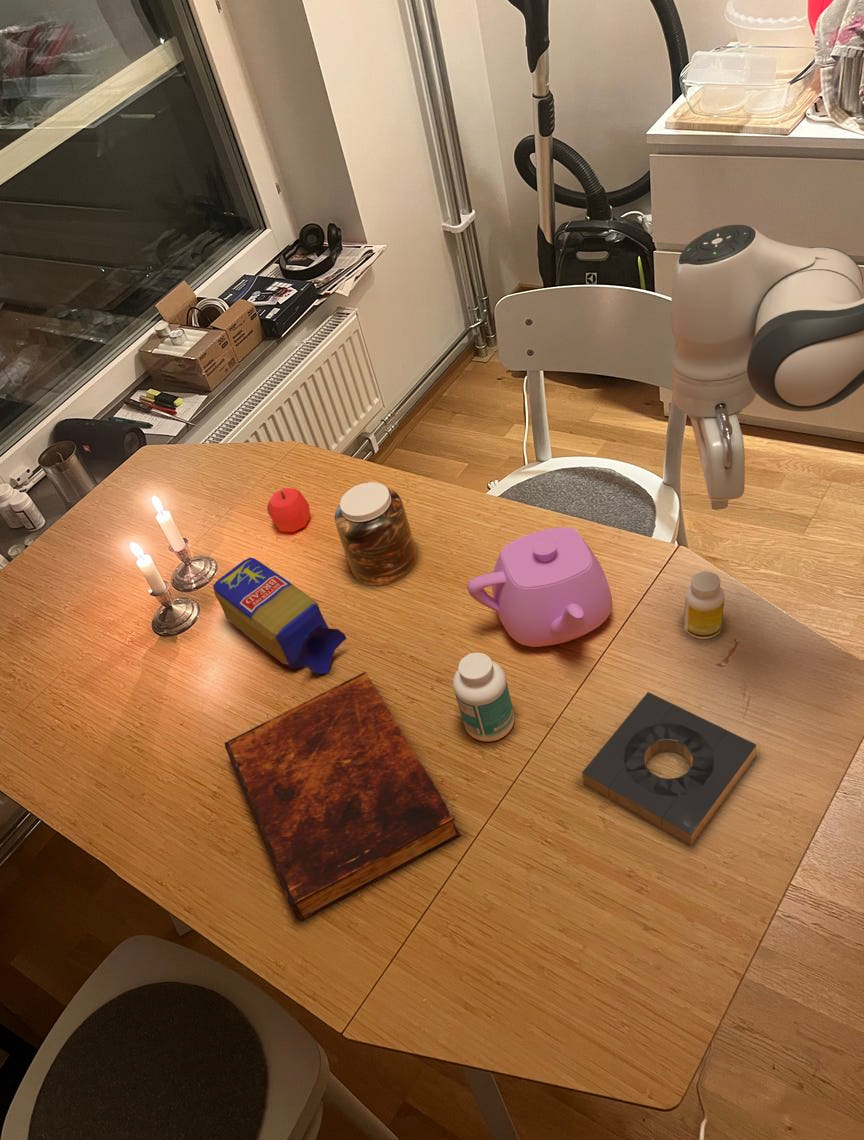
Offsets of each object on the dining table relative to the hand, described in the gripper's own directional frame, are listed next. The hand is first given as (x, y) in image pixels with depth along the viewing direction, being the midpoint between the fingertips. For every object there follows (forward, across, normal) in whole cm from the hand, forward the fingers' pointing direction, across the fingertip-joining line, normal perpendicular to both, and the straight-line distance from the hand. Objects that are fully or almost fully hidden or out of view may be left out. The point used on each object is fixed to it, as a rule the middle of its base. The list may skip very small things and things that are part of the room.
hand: (712, 480), depth 110 cm
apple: (+30, +40, +70) cm, 86 cm away
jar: (+31, +26, +51) cm, 65 cm away
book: (+32, -21, +53) cm, 66 cm away
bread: (+31, +11, +67) cm, 74 cm away
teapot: (+32, +10, +22) cm, 40 cm away
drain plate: (+33, -19, +8) cm, 39 cm away
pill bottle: (+32, -10, +32) cm, 46 cm away
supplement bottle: (+32, +6, 0) cm, 33 cm away
